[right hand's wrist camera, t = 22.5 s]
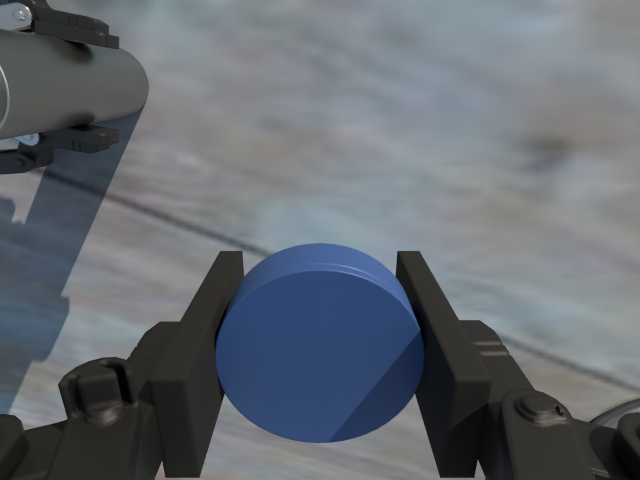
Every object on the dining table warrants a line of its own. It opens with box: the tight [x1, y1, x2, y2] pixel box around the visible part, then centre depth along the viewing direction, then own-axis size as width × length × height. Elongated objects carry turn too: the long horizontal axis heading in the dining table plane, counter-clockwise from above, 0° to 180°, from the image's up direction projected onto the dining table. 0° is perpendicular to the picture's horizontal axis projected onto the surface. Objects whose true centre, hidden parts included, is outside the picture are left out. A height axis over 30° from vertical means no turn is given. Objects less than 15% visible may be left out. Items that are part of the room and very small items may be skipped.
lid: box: [215, 243, 425, 443], centre depth 11 cm, size 5×5×2 cm
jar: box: [0, 29, 148, 140], centre depth 23 cm, size 5×5×16 cm
